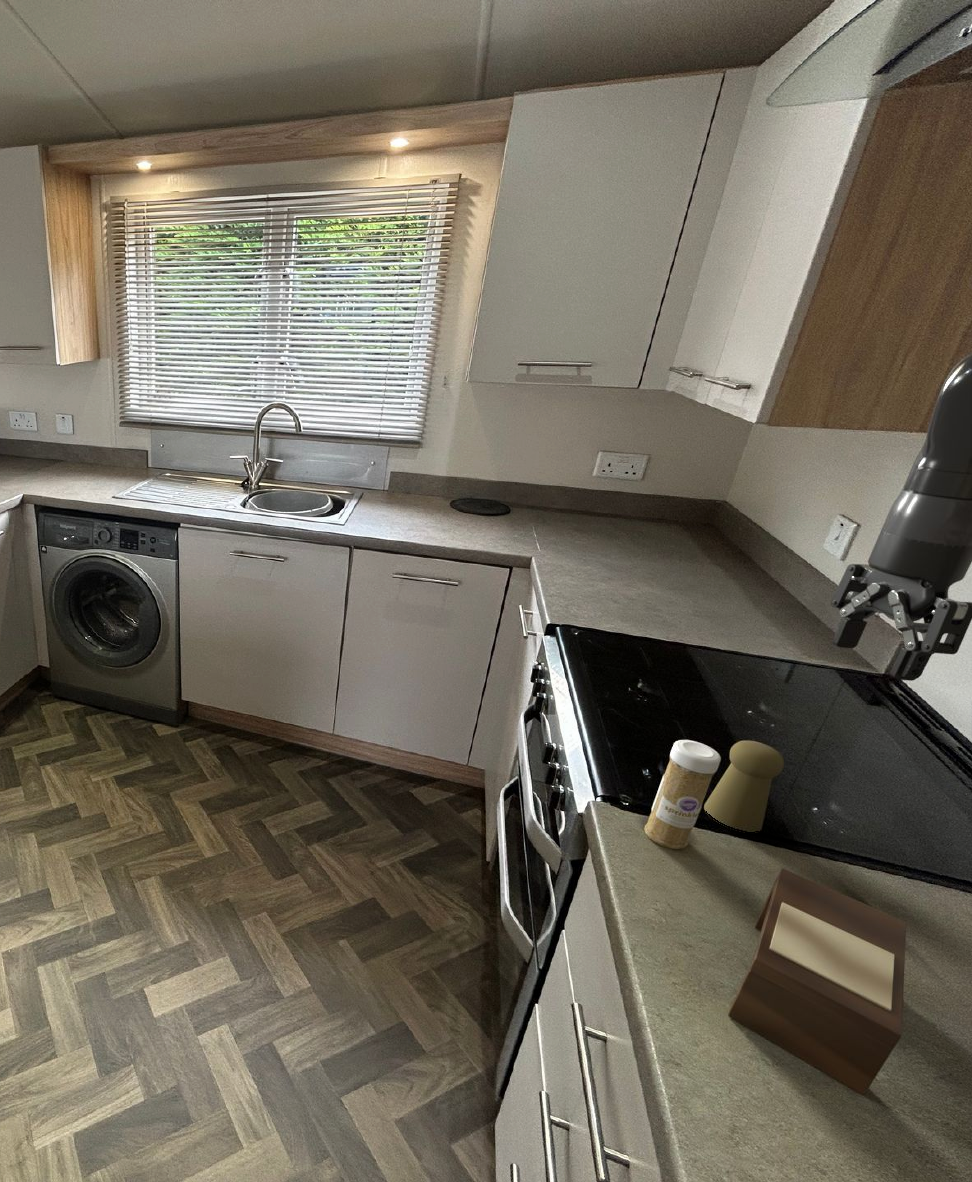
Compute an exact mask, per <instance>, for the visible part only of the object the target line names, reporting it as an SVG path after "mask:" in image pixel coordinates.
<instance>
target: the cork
mask: <svg viewBox="0 0 972 1182" xmlns="http://www.w3.org/2000/svg"><path fill="white" fill-rule="evenodd" d="M729 760H730V764H729V765H728V766H727V769H726V770H725V772H724V773H723V775H722V777H721V778H720V780H719V781H718V783H717V784H716V786H715V787H714V789H713V790H712V792H711V794H710V795H709V797H708V798H707V800H706V801H705V803H704V804H703V805H704V806H703V809H704V811H705V812H706V811H707V813H708V814H710V815H711V816H712V817H713V818H715V819H716V820H718V821H719V822H721V823H723V824H725V825H727V826H730V827H733V828H735V829H739V830H743V831H747V832H755V831H759V832H760V831H761V830H763V829H762V828H763V824H764V821H765V816H766V811H767V810H766V809H767V805H768V802H769V801H768V800H769V795H770V790H771V787H772V782H773V778H776V777H777V776H778V775H779V774H781V773H782V772H783V769H784V767H785V760H784V757H783V755H782V754H781V753H780V752H779V751H777V750H776V749H775V748H774V747H772V746H769V745H768V744H764V743H762V742H759V741H754V740H740V741H737V742H736V743H734V744H733V745H732V746H731V747H730V750H729ZM707 813H706V814H707ZM708 814H707V815H708ZM755 833H756V832H755Z"/></svg>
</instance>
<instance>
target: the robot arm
mask: <svg viewBox="0 0 972 1182" xmlns="http://www.w3.org/2000/svg"><path fill="white" fill-rule="evenodd" d="M932 411H933V412H932V415H931V418H930V422H929V425H928V429H927V432H926V433H927V434H926V438H925V441H924V442H923V444H922V447H921V449H920V451H919V452H918V454H917V455H916V458H915V460H914V461H913V464H912V466H911V469H910V471H909V474H908V476H907V477H906V480H905V482H904V485H903V487H902V489H901V491H900V492H899V495H898V496H897V498H896V499H895V500H894V502H893V504H892V505H891V507H890V509H889V511H888V513H887V516H886V518H885V520H884V523H883V525H882V527H881V530H880V532H879V534H878V536H877V539H876V541H875V543H874V546H873V548H872V550H871V553H870V555H869V557H868V560H867V563H868V564H867V563H866V564H864V563H863V564H862V563H850V564H848V565H847V567H846V569H845V571H844V573H843V575H842V577H841V579H840V581H839V583H838V585H837V587H836V589H835V592H834V594H833V596H832V598H831V600H830V606H831V607H832V608H836V609H838V610H839V616H840V617H841V618H840V620H839V623H838V626H837V628H836V629H835V630H836V631H835V633H834V637H833V641H832V644H833V645H835V646H836V647H838V648H842V649H854V648H856V647H857V646H858V645H859V642H860V640H861V638H862V635H863V633H864V631H865V629H866V627H867V624H868V621H867V619H869V618H870V617H873V616H874V615H876V614H877V613H878V614H884V615H885V616H886V617H887V618H888V619H890V620H892V621H894V624H895V628H896V630H897V631H899V632H901V635H902V640H903V645H904V647H901V649H900V651H899V653H898V655H897V657H896V660H895V661H894V663H893V666H892V668H891V670H890V672H889V676H890V677H892V678H894V679H895V680H899V681H911V682H912V681H915V680H917V679H919V678H920V677H921V676H922V675H923V673H924V670H925V668H926V666H927V665H928V663H929V661H930V659H931V657H932V655H935V654H943V655H955V654H957V653H958V651H959V649H960V647H961V645H962V644H963V643H962V642H963V640H964V638H965V636H966V633H967V631H968V629H969V626H970V624H971V621H972V601H959V600H955V599H951V598H949V589H950V587H951V586H952V585H954V584H955V583H958V582H960V581H962V580H963V579H964V578H965V577H966V574H967V573H968V570H969V568H970V566H971V564H972V353H970V354H968V355H967V356H965V357H964V358H962V359H961V360H960V361H958V363H957V364H955V366H953V367H952V369H951V370H950V372H949V373H948V375H947V376H946V378H945V380H944V382H943V384H942V386H941V388H940V392H939V394H938V395H937V399H936V402H935V405H934V408H933V410H932ZM849 593H852V594H851V595H850V598H847V596H848V594H849ZM922 619H923V622H918V621H920V620H922ZM918 633H920V634H921V636H922V640H920V639H919V634H918ZM944 635H946V637H945V639H944V641H943V642H942V638H943V636H944Z"/></svg>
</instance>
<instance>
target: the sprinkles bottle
mask: <svg viewBox="0 0 972 1182" xmlns="http://www.w3.org/2000/svg"><path fill="white" fill-rule="evenodd" d="M672 745H673V746H672V747H671V750H670V754H669V762H668V764H667V766H666V769H665V771H664V774H663V775H662V778H661V781H660V784H659V787H658V790H657V791H656V792H657V793H656V795H655V798H654V800H653V803H652V806H651V812H650V814H649V818H648V820H647V823H646V824H645V825H644V832H645V835H647V837H648V838H649V839H651V841H653V842H655V843H657V844H658V845H660V846H662V847H666V848H668V849H671V850H673V849H674V850H683V849H685V848H686V847H687V846H688V844H689V838H690V836H691V833H692V830H693V829H694V827H695V825H696V822H697V820H698V817H699V814H700V812H701V810H702V807H703V803H704V800H705V798H706V795H707V792H708V790H709V786H710V784H711V781H712V778H713V776H715V773H716V772H717V771H718V769H719V766H720V763H721V760H722V758H721V755H720V753H718V751H716V749H714V748H713V747H711V746H708V745H706V744H704V743H702V742H698V741H695V740H690V739H678V740H676V741H675V742H673V744H672Z"/></svg>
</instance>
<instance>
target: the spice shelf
mask: <svg viewBox="0 0 972 1182" xmlns="http://www.w3.org/2000/svg"><path fill="white" fill-rule="evenodd" d="M754 928H755V929H756V930H758V931H760V932H759V933H760V934H759V938H758V940H757V944H756V947H755V950H754V954H753V957H752V961H751V963H750V965H749V967H748V969H747V971H746V973H745V975H744V977H743V980H742V982H741V983H740V986H739V988H738V990H737V991H736V994H735V997H734V998H733V1001H732V1003H731V1004H730V1008H729V1011H728V1015H727V1016H728V1018H730V1019H732V1020H734V1021H735V1022H737V1023H739V1024H740V1025H742V1026H744V1027H745V1028H747V1029H749V1030H750V1031H752V1032H754V1033H755V1034H757V1035H759V1036H761V1037H763V1038H764V1039H766V1040H768V1041H769V1042H770V1043H773V1044H774V1045H776V1046H778V1047H779V1048H781V1049H783V1050H785V1051H786V1052H788V1053H790V1054H791V1055H793V1056H794V1057H796V1058H798V1059H800V1060H801V1061H804V1062H805V1063H807V1064H808V1065H810V1066H812V1067H814V1068H815V1069H817V1070H818V1071H820V1072H822V1073H823V1074H826V1075H827V1076H829V1077H831V1078H832V1079H834V1080H835V1081H837V1082H839V1083H841V1084H842V1085H844V1086H846V1087H847V1088H850V1089H851V1090H853V1091H854V1092H856V1093H858V1094H860V1095H861V1096H865V1094H866V1093H867V1091H868V1090H869V1088H870V1087H871V1086H872V1083H873V1082H874V1081H875V1079H876V1078H877V1075H878V1074H879V1072H880V1071H881V1069H882V1068H883V1066H884V1065H885V1063H886V1062H887V1060H888V1059H889V1056H890V1055H891V1054H892V1052H893V1051H894V1048H896V1046H897V1045H898V1043H899V1041H900V1039H901V1038H902V1037H903V1036H902V1035H903V1016H904V1015H903V1012H904V1011H903V1010H904V991H905V990H904V989H905V988H904V986H905V965H906V964H905V963H906V962H905V961H906V938H907V937H906V936H907V935H906V934H907V922H906V921H904V920H902V919H900V918H897V917H895V916H893V915H890V914H889V913H886V912H884V911H881V910H880V909H877V908H875V907H872V906H870V905H868V904H866V903H863V902H861V901H859V900H857V899H854V898H852V897H850V896H847V895H845V894H843V893H840V892H838V891H836V890H834V889H832V888H830V887H827V886H824V885H822V884H820V883H817V882H816V881H813V880H811V879H808V878H806V877H804V876H802V875H800V874H798V873H795V872H793V871H790V870H788V869H786V868H784V867H781V868H780V870H779V872H778V873H777V876H776V879H775V880H774V882H773V885H772V887H771V889H770V891H769V894H768V896H767V897H766V900H765V901H764V904H763V905H762V908H761V910H760V913H759V914H758V916H757V919H756V922H755V925H754Z"/></svg>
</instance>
